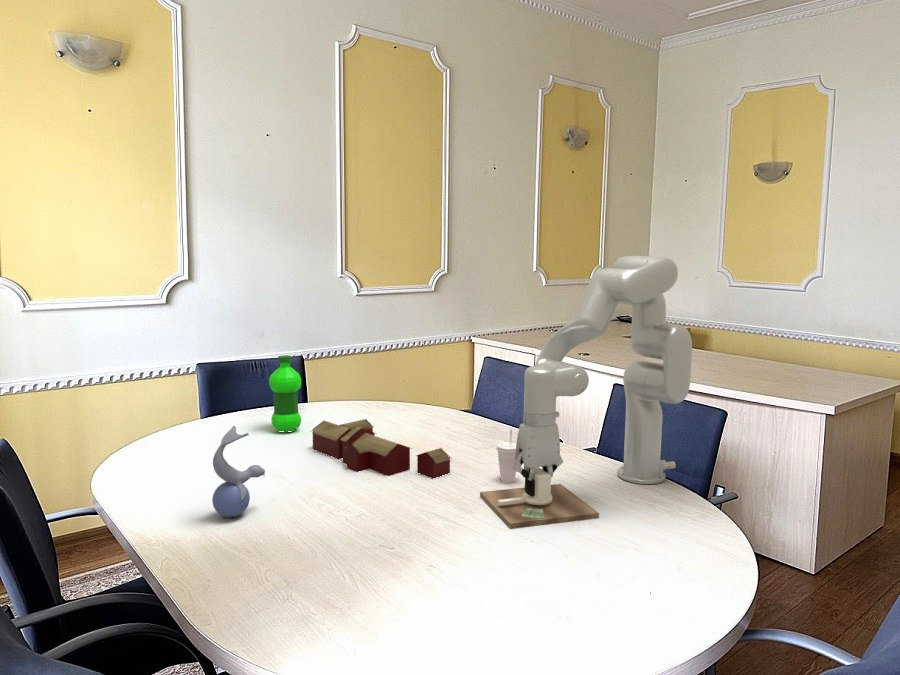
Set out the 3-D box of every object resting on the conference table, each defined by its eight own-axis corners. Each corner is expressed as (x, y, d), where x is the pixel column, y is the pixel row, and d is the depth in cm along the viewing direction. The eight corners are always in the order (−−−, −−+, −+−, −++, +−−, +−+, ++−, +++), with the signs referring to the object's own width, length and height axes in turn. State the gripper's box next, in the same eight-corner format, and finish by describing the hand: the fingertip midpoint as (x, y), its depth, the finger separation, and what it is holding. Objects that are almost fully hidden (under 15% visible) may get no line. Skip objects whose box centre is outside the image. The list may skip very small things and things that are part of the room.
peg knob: (543, 492, 171) (544, 465, 170) (557, 503, 164) (558, 474, 163) (493, 499, 166) (493, 471, 165) (505, 510, 159) (505, 481, 158)
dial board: (560, 488, 179) (560, 482, 179) (598, 517, 160) (599, 512, 160) (479, 496, 173) (480, 491, 172) (510, 528, 154) (510, 522, 154)
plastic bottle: (299, 435, 224) (297, 359, 221) (266, 435, 225) (264, 359, 221) (305, 427, 234) (304, 354, 231) (274, 426, 235) (272, 353, 231)
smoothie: (518, 485, 181) (519, 433, 179) (494, 483, 182) (495, 431, 180) (521, 477, 187) (522, 426, 185) (497, 475, 188) (498, 425, 186)
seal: (273, 512, 161) (271, 429, 159) (221, 526, 154) (217, 438, 151) (258, 501, 168) (255, 421, 165) (207, 514, 160) (203, 430, 157)
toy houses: (305, 452, 208) (304, 419, 207) (359, 438, 222) (359, 408, 221) (404, 491, 176) (404, 453, 175) (460, 473, 191) (460, 437, 189)
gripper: (559, 411, 170) (557, 483, 173) (500, 418, 163) (499, 493, 166) (577, 418, 164) (575, 493, 166) (517, 426, 156) (515, 504, 159)
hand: (537, 492), depth 166 cm, fingers closed on peg knob, 3 cm apart
